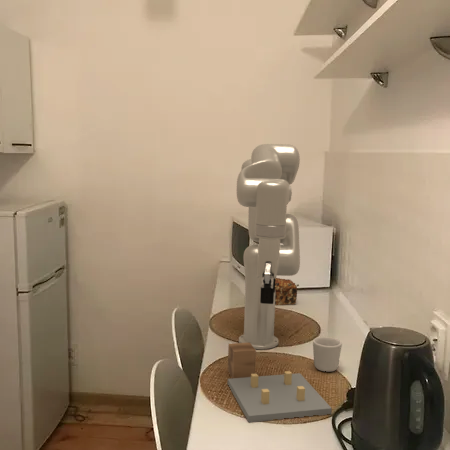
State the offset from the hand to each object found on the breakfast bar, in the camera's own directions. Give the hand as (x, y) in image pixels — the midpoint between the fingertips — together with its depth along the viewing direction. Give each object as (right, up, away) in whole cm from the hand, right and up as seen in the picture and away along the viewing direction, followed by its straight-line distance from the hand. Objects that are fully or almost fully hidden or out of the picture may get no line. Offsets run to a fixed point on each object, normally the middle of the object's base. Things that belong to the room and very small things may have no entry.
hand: (267, 297), depth 134 cm
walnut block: (-6, -22, +10) cm, 25 cm away
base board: (+2, -24, -4) cm, 25 cm away
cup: (+19, -22, +17) cm, 33 cm away
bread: (+8, -13, +81) cm, 83 cm away
